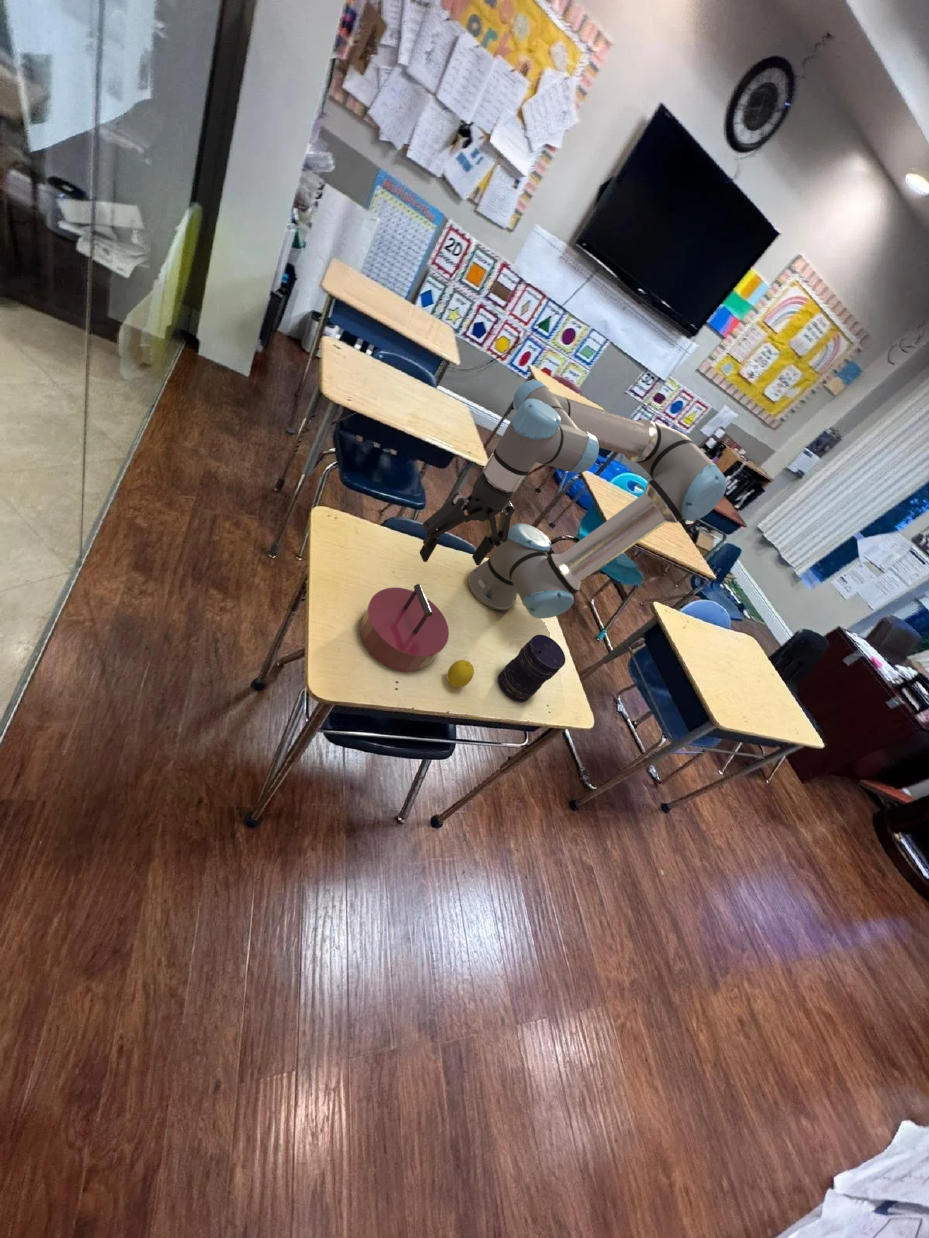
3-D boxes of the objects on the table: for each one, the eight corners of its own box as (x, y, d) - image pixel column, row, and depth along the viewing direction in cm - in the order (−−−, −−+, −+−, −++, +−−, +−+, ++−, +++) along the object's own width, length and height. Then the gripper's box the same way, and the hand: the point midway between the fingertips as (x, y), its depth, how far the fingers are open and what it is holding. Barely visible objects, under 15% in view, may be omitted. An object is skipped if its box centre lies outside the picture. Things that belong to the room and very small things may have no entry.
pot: (419, 609, 130) (430, 592, 126) (444, 670, 121) (457, 654, 117) (351, 607, 119) (360, 589, 115) (372, 674, 110) (383, 657, 106)
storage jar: (519, 667, 134) (552, 633, 125) (537, 699, 130) (572, 666, 120) (490, 671, 128) (523, 635, 119) (508, 705, 123) (543, 670, 114)
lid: (430, 592, 127) (446, 567, 121) (458, 657, 117) (477, 633, 111) (356, 588, 116) (370, 561, 110) (380, 660, 106) (397, 634, 100)
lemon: (460, 697, 118) (477, 678, 113) (439, 686, 117) (455, 666, 112) (464, 680, 122) (481, 660, 117) (444, 669, 121) (460, 649, 116)
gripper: (538, 478, 106) (488, 550, 119) (436, 456, 91) (393, 542, 105) (555, 502, 102) (501, 574, 116) (451, 484, 88) (404, 569, 101)
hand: (450, 559), depth 110 cm, fingers open, 13 cm apart
